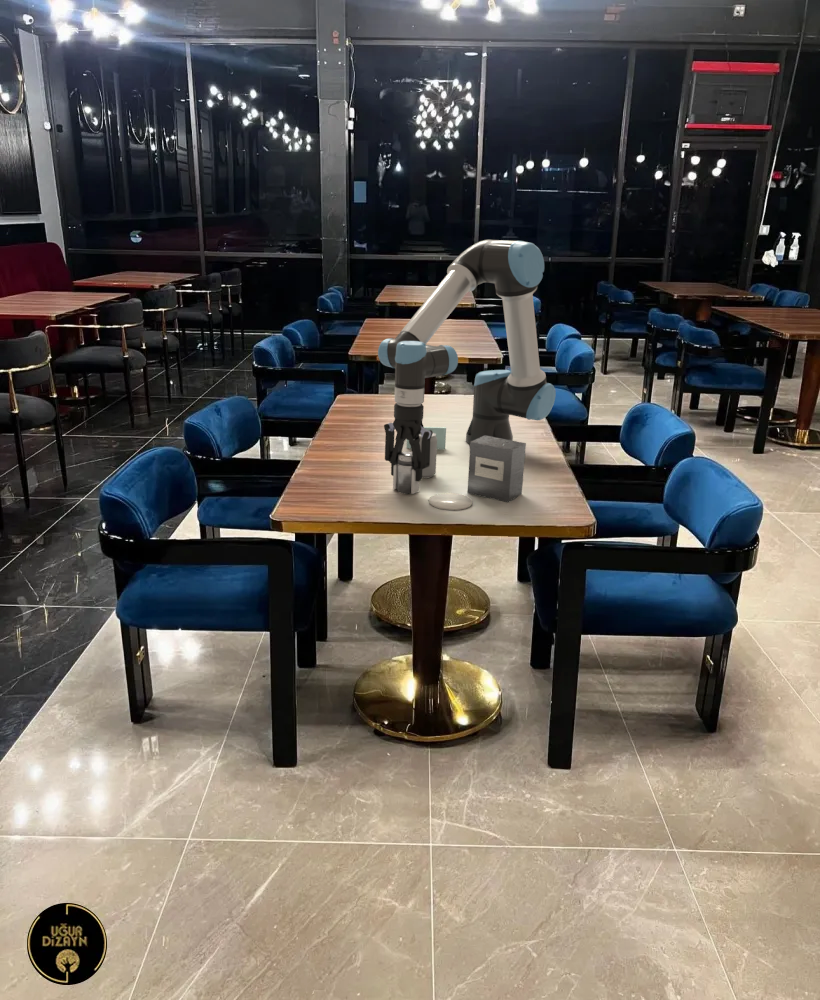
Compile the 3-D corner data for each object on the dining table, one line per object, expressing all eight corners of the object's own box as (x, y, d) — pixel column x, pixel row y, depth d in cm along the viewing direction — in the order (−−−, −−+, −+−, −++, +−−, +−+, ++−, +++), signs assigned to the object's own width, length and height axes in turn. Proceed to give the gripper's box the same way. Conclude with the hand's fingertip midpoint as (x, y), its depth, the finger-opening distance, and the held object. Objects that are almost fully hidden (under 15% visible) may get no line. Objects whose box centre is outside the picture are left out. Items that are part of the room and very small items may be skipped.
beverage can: (422, 470, 223) (423, 429, 219) (440, 475, 219) (442, 433, 215) (408, 475, 219) (409, 433, 214) (426, 480, 215) (427, 438, 211)
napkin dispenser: (481, 485, 212) (484, 435, 207) (521, 494, 206) (525, 443, 201) (466, 493, 205) (469, 442, 201) (507, 503, 200) (511, 450, 195)
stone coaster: (442, 492, 206) (442, 490, 206) (479, 501, 200) (479, 498, 200) (420, 504, 197) (420, 501, 197) (458, 513, 192) (459, 511, 191)
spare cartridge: (403, 486, 210) (404, 450, 206) (420, 489, 207) (421, 453, 204) (393, 491, 205) (393, 454, 202) (410, 495, 203) (411, 458, 200)
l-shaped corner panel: (445, 451, 244) (446, 428, 241) (406, 450, 243) (407, 427, 241) (443, 440, 255) (444, 418, 252) (406, 439, 255) (407, 417, 252)
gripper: (371, 400, 200) (369, 486, 207) (431, 411, 191) (427, 500, 199) (387, 396, 206) (385, 479, 213) (447, 406, 197) (442, 493, 205)
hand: (405, 489), depth 206 cm, fingers closed on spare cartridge, 5 cm apart
